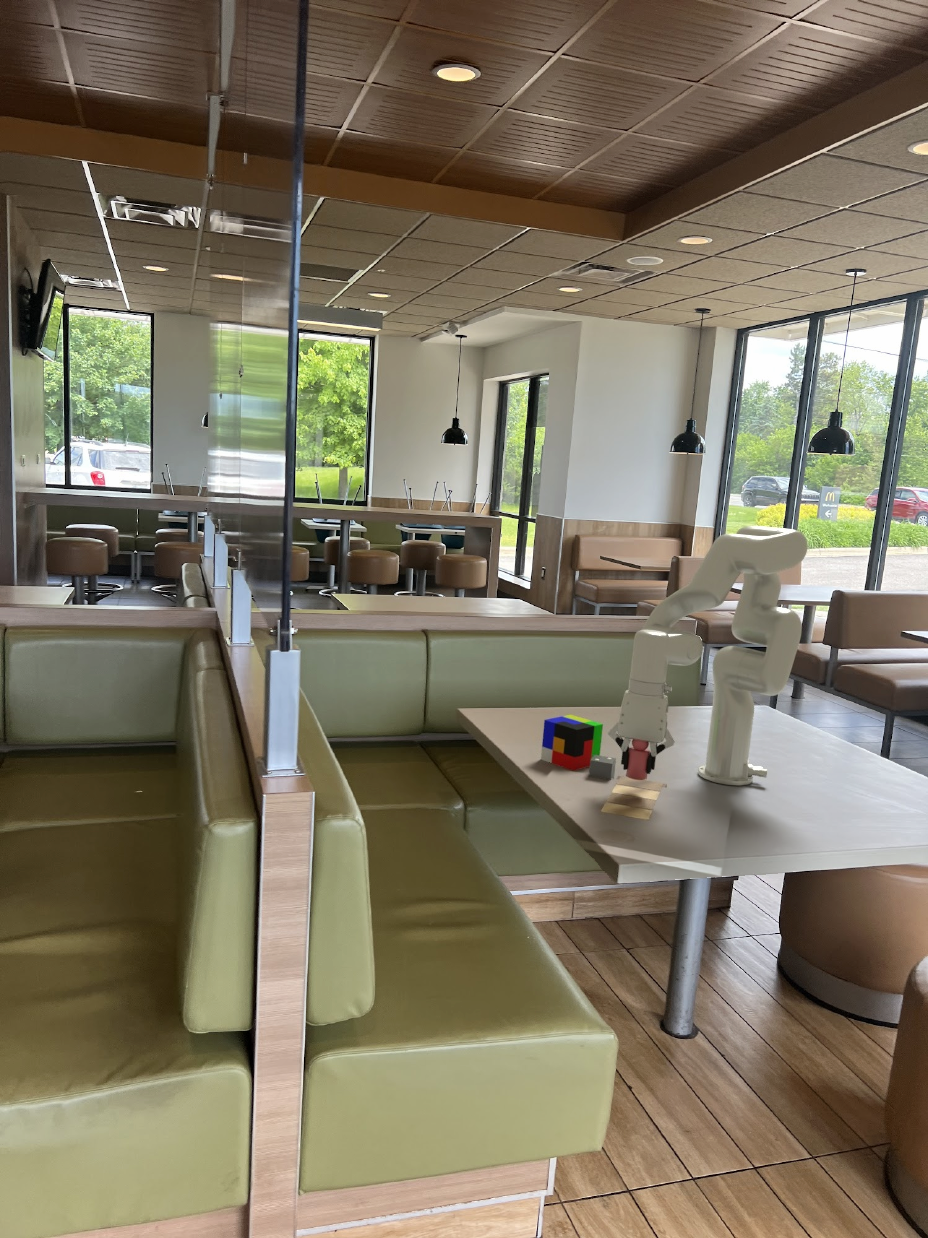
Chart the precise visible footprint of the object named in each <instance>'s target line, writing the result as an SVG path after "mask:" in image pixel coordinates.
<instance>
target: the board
mask: <svg viewBox="0 0 928 1238" xmlns="http://www.w3.org/2000/svg"><path fill="white" fill-rule="evenodd" d="M616 780H617V782H616V784H615V786H614V787H613V789H612V791H611V793H610V795H609V796H608V797H607V800H606V802H605V803H604V804H603V807H602V808H601V810H600V813H607V814H613V815H616V816H617V815H618V816H624V817H629V818H634V819H639V820H645V821H650V820H649V819H650V818H651V815H652V812H653V810H654V808H655V806H656V802H657V800H658V798H659V795H660V792H661V791H662V789H663V788H667V787H668V786H667V783H663V782H657V781H651V780H647V779H645V780H635V779H631V778H629V777H627V776H624V775H623V776H622V775H618V776H617V777H616Z"/></svg>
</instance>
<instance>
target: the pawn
mask: <svg viewBox="0 0 928 1238" xmlns="http://www.w3.org/2000/svg"><path fill="white" fill-rule="evenodd" d="M631 745H632V746H631V747H629V757H628V766H627V770H626V776H625V777H629V778H631V779H635V780H647V778H648V774H647V773H646V771H647V763H648V756H649V755H650V752H651V750H650V749H648V747H650V742H647V741H641V740H634V739H631Z"/></svg>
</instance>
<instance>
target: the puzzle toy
mask: <svg viewBox="0 0 928 1238" xmlns="http://www.w3.org/2000/svg"><path fill="white" fill-rule="evenodd" d="M543 722H544V723H543V732H542V745H541V756H540V760H541V761H544V762H547V763H549V762H550V764H552V763H553V764H552V765H555V764H556V765H555V766H559V767H561V766H562V768H564V767H565V768H564V769H567V770H570V771H572V772H573V771H577V769H578V770H582V769H585V768H590V760H591V759H592V757H593V756H594V755H599V756H601V747H602V737H603V727H604V724H603V723H601V722H597V721H594V720H590V719H587V718H584V717H580V716H576V715H574V714H568V715H567V714H566V715H562V716H557V717H553V718H548V719H547V718H546V719H544V721H543ZM584 767H585V768H584Z"/></svg>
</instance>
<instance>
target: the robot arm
mask: <svg viewBox="0 0 928 1238" xmlns="http://www.w3.org/2000/svg"><path fill="white" fill-rule="evenodd" d="M807 552H808V541H807V539H806V537H805V535H804V534H803V533H802V532H800V531H799V530H796V529H792V528H781V527H771V526H765V525H764V526H763V525H761V526H760V525H747V526H743V527H741V528H739V529H738V530H737V531H736V533H724V534H721V535H719V536H717V538H716V539H715V540H714V541H713V543H712V544H711V546H710V548H709V550H707V552H706V554H705V556H704V558H703V559H702V562H701V563H700V565H699V566H698V568H697V570H696V571H695V572H694V574H693V576H692V578H691V580H690V581H689V583H687V584H686V585H685V586H683V587H682V588H680V589H678V590H676V591H675V592H674V593H672V594H671V595H669V596H667V597H666V598H665V599H663V600H662V601H660V603H658V604H657V605H656V606H655V607H654V609H653V610H652V611H651V613H650V615H649V616H648V618H647V620H646V621H645V623H644V625H643V627H642V629H641V630H637V631H636V632H635V634H634V638H633V649H632V655H631V656H632V657H631V665H630V672H629V673H630V674H629V680H628V681H629V682H628V689H627V690H625V691H624V694H623V699H622V701H621V706H620V711H619V717H618V721H617V722H616V723H615V724H614V725H613V726H612V727H611V728H610V729H609V731H608V732H607V735H608V736H609V737H611V739H612V740H614V741H615V742H616V744H617V745H618V747H619V748H620V750H621V761H620V765H623V768H622V769H623V771H627V766H628V757H629V748H630V746H629V745H630V744H631V742H632V740H633V739H634V740H641V741H647V742H649V748H650V749H649V751H650V755H649V756H648V763H647V771H646V773H647V775H650V774H651V773H652V771H654V770H655V769H656V768H655V767H656V759H657V755H659V754H660V753H661V752H662V753H663V751H665V750H666V749H669V748H670V747H673V746H674V745H675V740H674V738H673V737H672V736H673V735H672V734H671V732H670V731H669V729H668V723H669V720H668V718H669V698H668V696H667V695H666V693H671V692H672V690H673V688H672V687H673V686H672V685H669V684H667V682H666V680H667V673H668V672H667V671H668V665H673V666H681V667H682V666H683V667H685V666H690V665H694V664H695V663H696V662H698V661H699V660H700V658H701V656H702V654H703V649H704V647H703V641H702V640H701V638H700V637H699V636H698V635H696V634H695V633H693V632H690V631H688V630H682V629H679V628H675V627H673V626H675V624H676V623H678V622H679V621H681V620H682V619H683V618H685V617H687V616H689V615H693V614H696V613H699V612H704V611H708V610H711V609H714V608H717V607H719V606H721V605H722V604H724V602H725V600H726V599H727V597H728V595H729V593H730V591H731V589H732V588H733V586H734V585H735V583H736V581H737V579H738V578H739V576H740V575H741V574H743V583H742V587H741V591H740V595H739V598H738V601H737V604H736V608H735V611H734V614H733V618H732V622H731V632H732V633H731V634H732V635H733V636H734V638H736V639H737V640H739V641H741V642H744V643H747V644H748V643H749V644H753V645H757V646H762V647H766V650H765V651H762V650H761V651H760V650H756V649H752V648H748V647H744V646H743V647H742V646H738V645H737V646H736V645H728V646H724V647H722V648H720V649H719V650H718V651H717V652H716V653H715V655H714V658H713V660H712V678H713V697H712V709H711V714H710V724H709V732H708V742H707V751H706V758H705V764H704V765H701V766H699V767H698V769H697V774H698V775H699V777H701V778H703V779H705V780H707V781H708V782H709V781H710V782H713V783H717V784H720V785H727V786H747V785H750V784H752V783H753V780H754V776H757V777H759V778H765V779H766V778H767V777H768V776H767V775H768V774H767V773H768V769H765V768H763V767H762V766H754V765H752V764H750V759H749V756H750V755H749V754H750V748H751V741H752V740H751V739H752V732H753V726H754V725H753V724H754V715H755V704H754V699H753V696H752V693H755V694H758V695H763V696H769V697H773V696H777V695H779V694H780V693H782V691H783V690H784V689H785V687H786V686H787V683H788V681H789V677H790V674H791V672H792V668H793V665H794V661H795V658H796V655H797V653H798V648H799V644H800V641H801V638H802V621H801V618H800V617H799V615H798V613H796V611H794V610H793V609H790V608H786V607H781V606H778V602H779V598H780V594H781V590H782V587H781V586H782V583H781V579H780V576H779V572H783V571H786V570H790V569H792V568H795V567H796V566H798V565H799V564H800V563H802V562H803V560H804V559H805V557H806V555H807ZM623 738H624V739H623ZM664 740H665V741H664ZM658 743H660V744H658Z"/></svg>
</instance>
